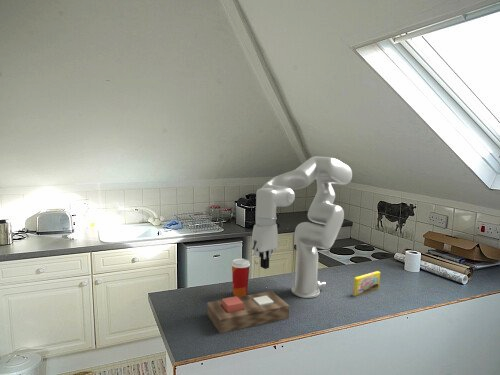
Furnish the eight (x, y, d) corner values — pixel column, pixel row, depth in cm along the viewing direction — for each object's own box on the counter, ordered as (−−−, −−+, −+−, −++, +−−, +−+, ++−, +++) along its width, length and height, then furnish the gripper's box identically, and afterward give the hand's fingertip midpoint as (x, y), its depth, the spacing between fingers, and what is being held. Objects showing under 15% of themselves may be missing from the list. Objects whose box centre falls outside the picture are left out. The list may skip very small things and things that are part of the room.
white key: (266, 302, 145) (266, 295, 145) (273, 309, 140) (273, 301, 139) (252, 305, 143) (253, 298, 142) (259, 312, 137) (259, 304, 137)
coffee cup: (239, 288, 164) (239, 256, 162) (253, 294, 159) (254, 261, 156) (226, 294, 157) (226, 261, 155) (240, 300, 152) (241, 266, 150)
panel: (271, 302, 151) (271, 291, 150) (288, 317, 139) (289, 305, 138) (207, 315, 139) (207, 302, 138) (219, 333, 127) (220, 319, 126)
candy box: (356, 296, 159) (357, 278, 157) (352, 295, 160) (353, 277, 159) (379, 289, 168) (380, 271, 166) (375, 287, 169) (376, 270, 168)
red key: (236, 303, 139) (236, 296, 139) (242, 310, 134) (243, 302, 134) (221, 306, 137) (222, 298, 136) (227, 313, 132) (227, 305, 131)
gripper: (273, 216, 144) (272, 260, 147) (244, 221, 134) (243, 269, 137) (286, 220, 138) (285, 266, 141) (257, 226, 129) (256, 275, 132)
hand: (264, 267), depth 139 cm, fingers closed
